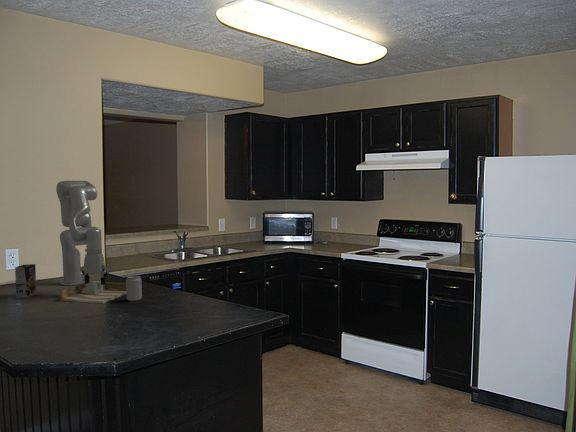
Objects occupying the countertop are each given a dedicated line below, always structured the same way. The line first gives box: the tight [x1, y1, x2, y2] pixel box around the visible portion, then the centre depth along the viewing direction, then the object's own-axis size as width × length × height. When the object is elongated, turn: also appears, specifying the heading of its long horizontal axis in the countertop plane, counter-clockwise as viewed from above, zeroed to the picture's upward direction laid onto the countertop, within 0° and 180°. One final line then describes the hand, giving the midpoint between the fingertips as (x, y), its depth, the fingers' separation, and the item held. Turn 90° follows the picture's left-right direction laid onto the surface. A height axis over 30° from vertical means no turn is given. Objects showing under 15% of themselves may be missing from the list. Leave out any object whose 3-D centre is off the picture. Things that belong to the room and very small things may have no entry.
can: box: [125, 275, 143, 302], centre depth 256 cm, size 8×8×12 cm
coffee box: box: [14, 263, 38, 299], centre depth 266 cm, size 9×6×16 cm
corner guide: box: [59, 280, 126, 304], centre depth 264 cm, size 24×24×5 cm
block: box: [86, 279, 105, 294], centre depth 269 cm, size 5×9×5 cm, turn 167°
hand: (95, 283), depth 269 cm, fingers open, 9 cm apart
